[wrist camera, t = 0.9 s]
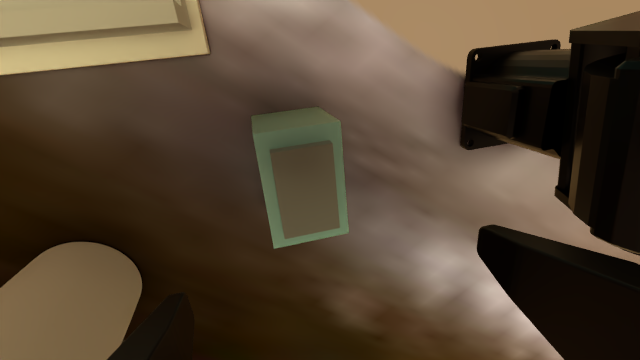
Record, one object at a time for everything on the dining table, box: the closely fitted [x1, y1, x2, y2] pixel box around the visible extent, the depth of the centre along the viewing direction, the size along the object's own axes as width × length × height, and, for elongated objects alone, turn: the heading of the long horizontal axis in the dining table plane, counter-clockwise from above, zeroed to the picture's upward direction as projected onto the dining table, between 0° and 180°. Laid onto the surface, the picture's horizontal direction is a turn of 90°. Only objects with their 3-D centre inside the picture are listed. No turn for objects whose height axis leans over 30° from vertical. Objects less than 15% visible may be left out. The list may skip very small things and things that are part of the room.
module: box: [251, 107, 349, 249], centre depth 17 cm, size 6×4×6 cm, turn 6°
